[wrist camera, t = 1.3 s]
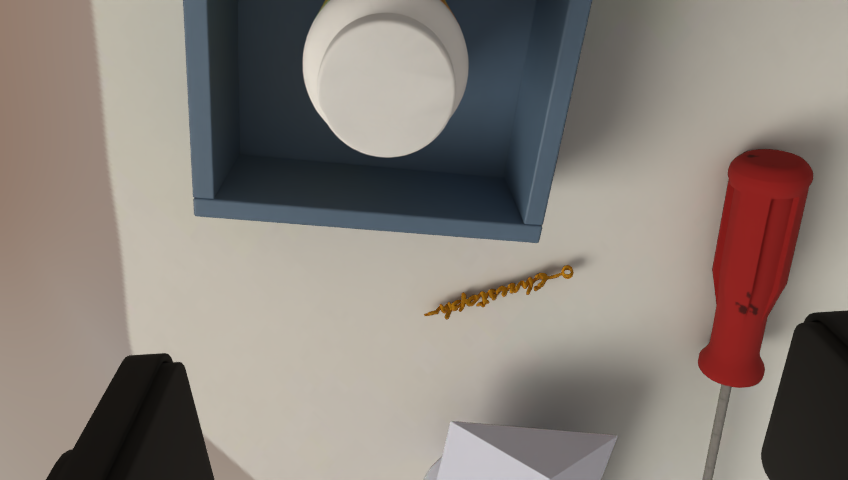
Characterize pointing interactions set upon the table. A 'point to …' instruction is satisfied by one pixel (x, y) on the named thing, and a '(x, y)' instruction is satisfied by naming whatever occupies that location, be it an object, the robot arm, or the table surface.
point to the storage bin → (369, 175)
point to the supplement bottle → (385, 72)
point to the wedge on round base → (521, 454)
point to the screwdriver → (751, 269)
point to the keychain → (494, 293)
